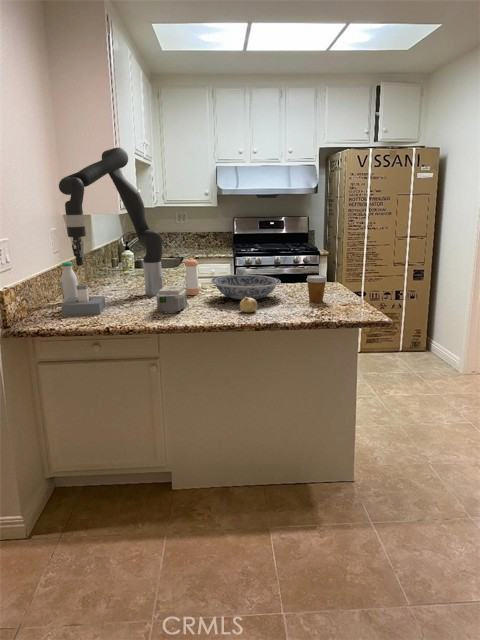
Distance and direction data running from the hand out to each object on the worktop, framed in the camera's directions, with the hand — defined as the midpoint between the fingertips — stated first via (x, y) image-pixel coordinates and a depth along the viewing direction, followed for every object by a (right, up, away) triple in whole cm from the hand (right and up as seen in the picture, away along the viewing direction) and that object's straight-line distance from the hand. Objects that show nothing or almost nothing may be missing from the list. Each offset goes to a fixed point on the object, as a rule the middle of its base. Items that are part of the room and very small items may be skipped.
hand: (80, 265), depth 203 cm
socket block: (0, -20, +5) cm, 21 cm away
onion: (+75, -21, -1) cm, 78 cm away
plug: (0, -20, +5) cm, 21 cm away
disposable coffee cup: (+108, -16, +16) cm, 110 cm away
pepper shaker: (+46, -11, +38) cm, 61 cm away
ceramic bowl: (+74, -14, +25) cm, 80 cm away
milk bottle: (-12, -16, +23) cm, 31 cm away
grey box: (+40, -20, +7) cm, 45 cm away
